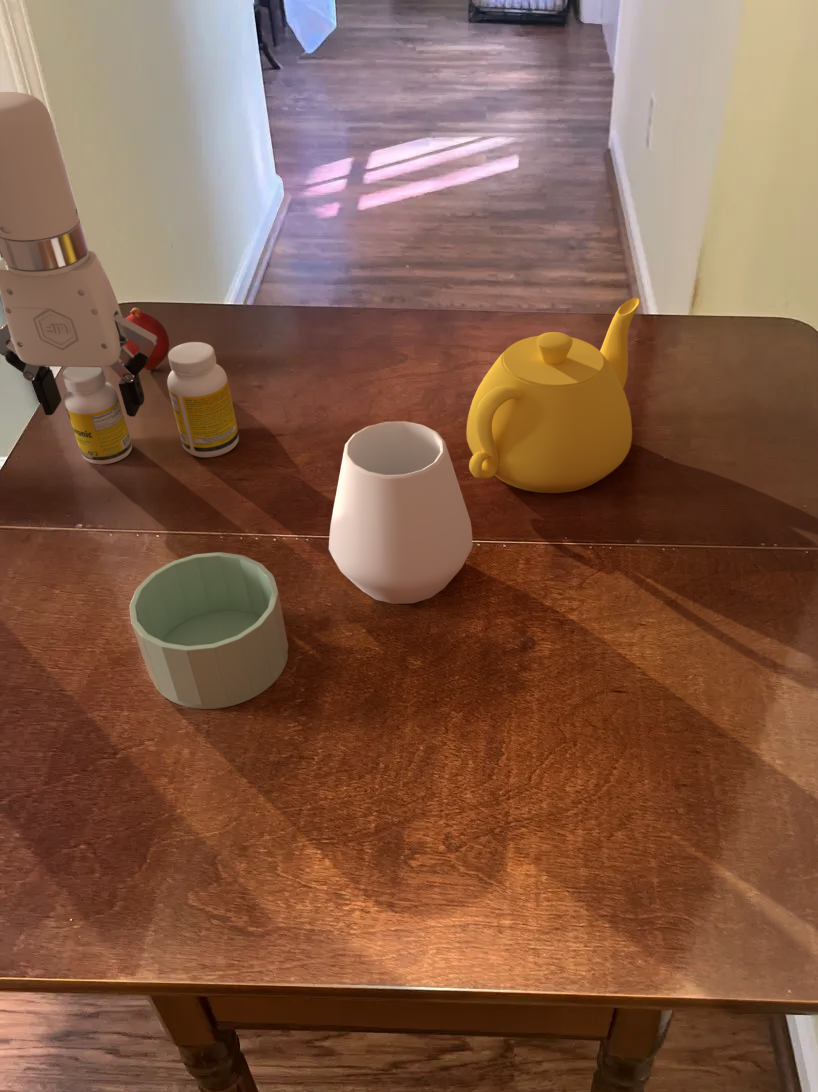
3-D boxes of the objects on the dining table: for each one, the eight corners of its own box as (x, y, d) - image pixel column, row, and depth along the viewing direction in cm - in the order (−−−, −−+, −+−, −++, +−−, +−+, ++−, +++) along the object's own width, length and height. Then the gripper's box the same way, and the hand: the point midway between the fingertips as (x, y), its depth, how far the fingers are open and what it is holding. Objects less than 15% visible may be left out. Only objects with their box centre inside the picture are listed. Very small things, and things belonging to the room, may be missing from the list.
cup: (316, 612, 90) (297, 486, 80) (350, 522, 99) (337, 400, 89) (461, 626, 88) (460, 501, 78) (482, 534, 98) (483, 412, 88)
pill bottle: (250, 436, 110) (233, 345, 102) (218, 465, 106) (197, 372, 98) (205, 423, 112) (185, 333, 104) (171, 451, 108) (147, 359, 100)
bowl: (133, 708, 81) (111, 648, 76) (169, 610, 90) (151, 550, 85) (275, 711, 81) (262, 652, 76) (298, 612, 89) (288, 553, 85)
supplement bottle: (73, 450, 108) (46, 369, 101) (119, 432, 110) (96, 352, 103) (94, 472, 105) (68, 390, 98) (141, 454, 107) (119, 373, 100)
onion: (128, 359, 122) (111, 297, 116) (175, 355, 123) (161, 294, 117) (125, 383, 118) (107, 320, 112) (174, 378, 119) (159, 316, 113)
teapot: (568, 379, 119) (577, 269, 109) (687, 437, 110) (708, 323, 101) (416, 462, 106) (410, 346, 97) (536, 535, 98) (543, 415, 88)
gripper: (-66, 260, 89) (-1, 427, 101) (124, 263, 89) (167, 430, 101) (-34, 227, 94) (25, 389, 107) (146, 229, 94) (185, 391, 106)
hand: (94, 408), depth 104 cm, fingers open, 8 cm apart
